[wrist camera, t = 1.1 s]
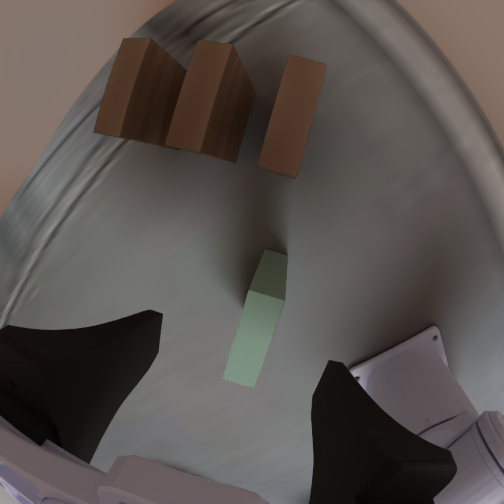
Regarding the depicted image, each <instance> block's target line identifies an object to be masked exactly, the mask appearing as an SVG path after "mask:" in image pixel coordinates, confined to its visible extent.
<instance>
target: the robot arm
mask: <svg viewBox="0 0 504 504" xmlns="http://www.w3.org/2000/svg"><path fill="white" fill-rule="evenodd" d="M162 318H163V314H162V313H159V312H156V311H153V310H146V311H143V312H140V313H137V314H134V315H131V316H127V317H124V318H121V319H118V320H115V321H111V322H107V323H104V324H100V325H96V326H91V327H85V328H78V329H65V330H40V329H29V328H23V327H17V326H11V325H7V326H5V327H4V328H2V329H1V330H0V486H1V487H2V488H3V489H4V490H6V491H7V492H8V493H9V494H10V495H11V496H12V497H14V498H15V499H16V500H17V501H18V502H19V503H21V504H270V503H268V502H267V501H266V500H264V499H263V498H262V497H261V496H259V495H258V494H257V493H254V492H251V491H248V490H245V489H243V488H240V487H236V486H231V485H227V484H223V483H220V482H216V481H212V480H209V479H205V478H202V477H198V476H195V475H192V474H189V473H185V472H182V471H179V470H177V469H174V468H171V467H168V466H165V465H163V464H160V463H157V462H155V461H152V460H149V459H145V458H141V457H138V456H134V455H129V456H120V457H117V459H116V460H115V462H114V463H113V465H112V467H111V468H110V470H109V471H108V473H105V472H103V471H101V470H99V469H97V468H95V467H93V466H92V465H90V462H91V459H92V457H93V455H94V453H95V451H96V449H97V447H98V445H99V443H100V441H101V439H102V437H103V435H104V433H105V431H106V429H107V428H108V426H109V424H110V422H111V421H112V419H113V417H114V415H115V414H116V412H117V410H118V409H119V407H120V406H121V404H122V403H123V401H124V400H125V399H126V398H127V396H128V395H129V394H130V393H131V391H132V390H133V389H134V388H135V386H136V385H137V384H138V383H139V381H140V380H141V379H142V377H143V376H144V375H145V374H146V372H147V371H148V370H149V368H150V366H151V365H152V363H153V361H154V359H155V358H156V356H157V354H158V352H159V343H160V334H161V326H162ZM435 335H436V337H435V338H434V339H433V337H434V336H435ZM357 376H359V377H358V378H356V379H355V377H357ZM311 422H312V437H313V454H314V465H313V477H312V486H311V494H310V501H309V504H504V415H503V414H502V413H500V412H499V411H491V412H490V411H484V412H483V413H482V414H481V415H479V414H478V412H477V411H476V409H475V407H474V406H473V404H472V403H471V401H470V400H469V398H468V397H467V395H466V394H465V392H464V391H463V389H462V388H461V386H460V385H459V383H458V382H457V380H456V379H455V377H454V376H453V374H452V373H451V372H450V370H449V368H448V363H447V359H446V355H445V351H444V347H443V343H442V339H441V335H440V332H439V329H438V328H437V327H436V326H432V327H430V328H428V329H426V330H425V331H423V332H421V333H419V334H418V335H416V336H414V337H412V338H410V339H409V340H407V341H405V342H403V343H401V344H399V345H397V346H396V347H394V348H392V349H390V350H388V351H386V352H384V353H382V354H380V355H378V356H376V357H374V358H372V359H370V360H368V361H366V362H363V363H361V364H359V365H357V366H355V367H353V368H351V369H350V370H348V369H347V367H346V366H345V365H344V364H343V363H341V362H336V361H331V360H329V361H328V363H327V366H326V368H325V370H324V372H323V374H322V377H321V379H320V381H319V383H318V385H317V388H316V390H315V392H314V394H313V397H312V409H311Z"/></svg>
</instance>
